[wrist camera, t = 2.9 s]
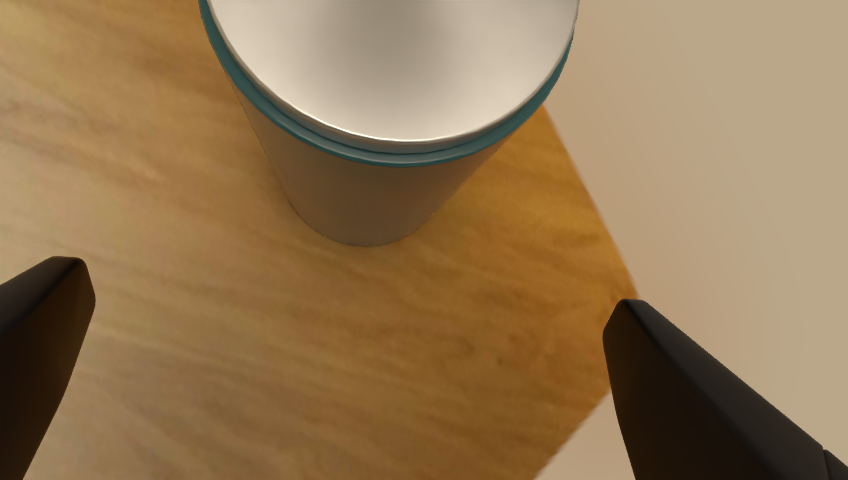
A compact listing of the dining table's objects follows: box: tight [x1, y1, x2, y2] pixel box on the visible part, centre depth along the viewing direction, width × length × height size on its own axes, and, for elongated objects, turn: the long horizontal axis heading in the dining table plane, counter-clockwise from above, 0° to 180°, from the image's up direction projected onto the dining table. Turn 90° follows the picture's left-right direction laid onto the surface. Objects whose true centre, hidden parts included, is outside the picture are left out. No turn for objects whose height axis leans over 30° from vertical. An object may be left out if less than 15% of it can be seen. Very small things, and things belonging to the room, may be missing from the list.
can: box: [198, 0, 580, 247], centre depth 15 cm, size 7×7×13 cm
